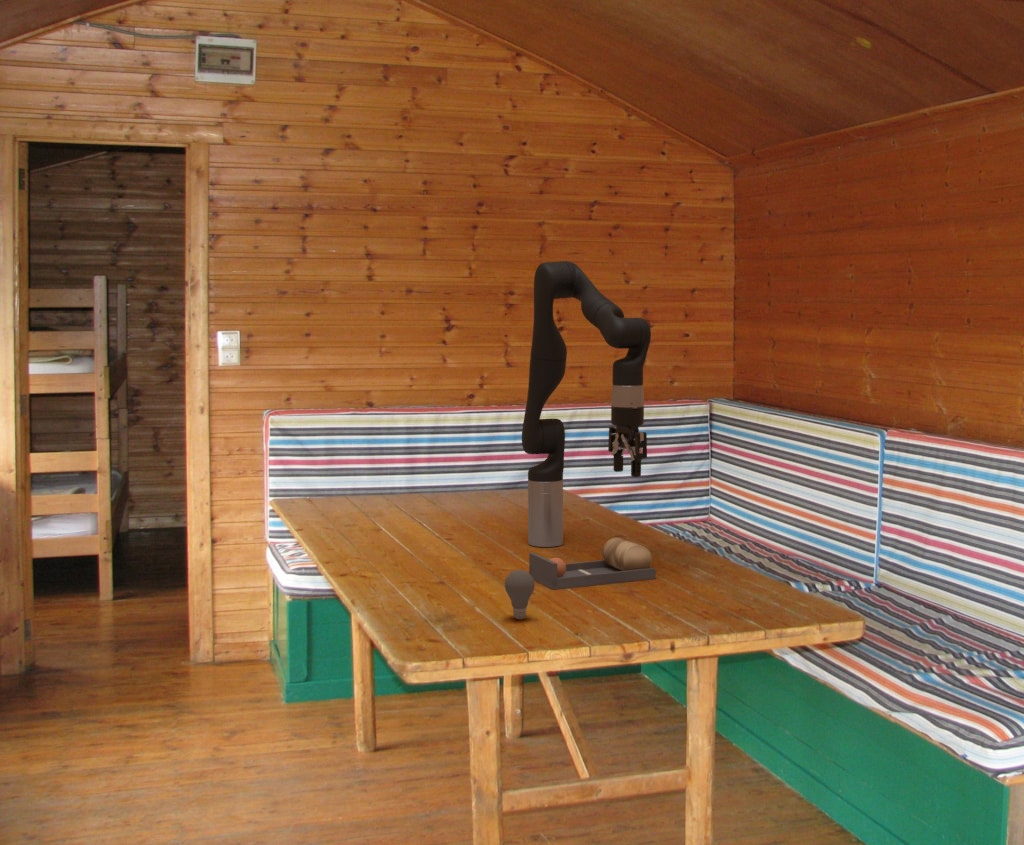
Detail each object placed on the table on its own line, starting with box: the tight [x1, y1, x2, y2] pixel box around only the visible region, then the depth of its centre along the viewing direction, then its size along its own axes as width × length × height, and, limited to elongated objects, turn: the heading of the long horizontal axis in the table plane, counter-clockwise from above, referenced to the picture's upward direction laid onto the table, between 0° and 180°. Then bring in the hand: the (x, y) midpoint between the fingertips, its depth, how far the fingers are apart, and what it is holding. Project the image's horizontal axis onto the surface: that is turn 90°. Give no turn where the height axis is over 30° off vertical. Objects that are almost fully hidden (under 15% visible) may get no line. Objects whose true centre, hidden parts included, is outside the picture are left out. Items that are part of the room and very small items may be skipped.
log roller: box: [601, 536, 653, 571], centre depth 273 cm, size 11×7×7 cm, turn 23°
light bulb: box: [504, 569, 536, 621], centre depth 234 cm, size 6×6×10 cm
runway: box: [528, 552, 657, 591], centre depth 270 cm, size 13×26×6 cm, turn 113°
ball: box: [548, 557, 566, 578], centre depth 266 cm, size 5×5×5 cm
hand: (627, 474), depth 271 cm, fingers open, 8 cm apart
